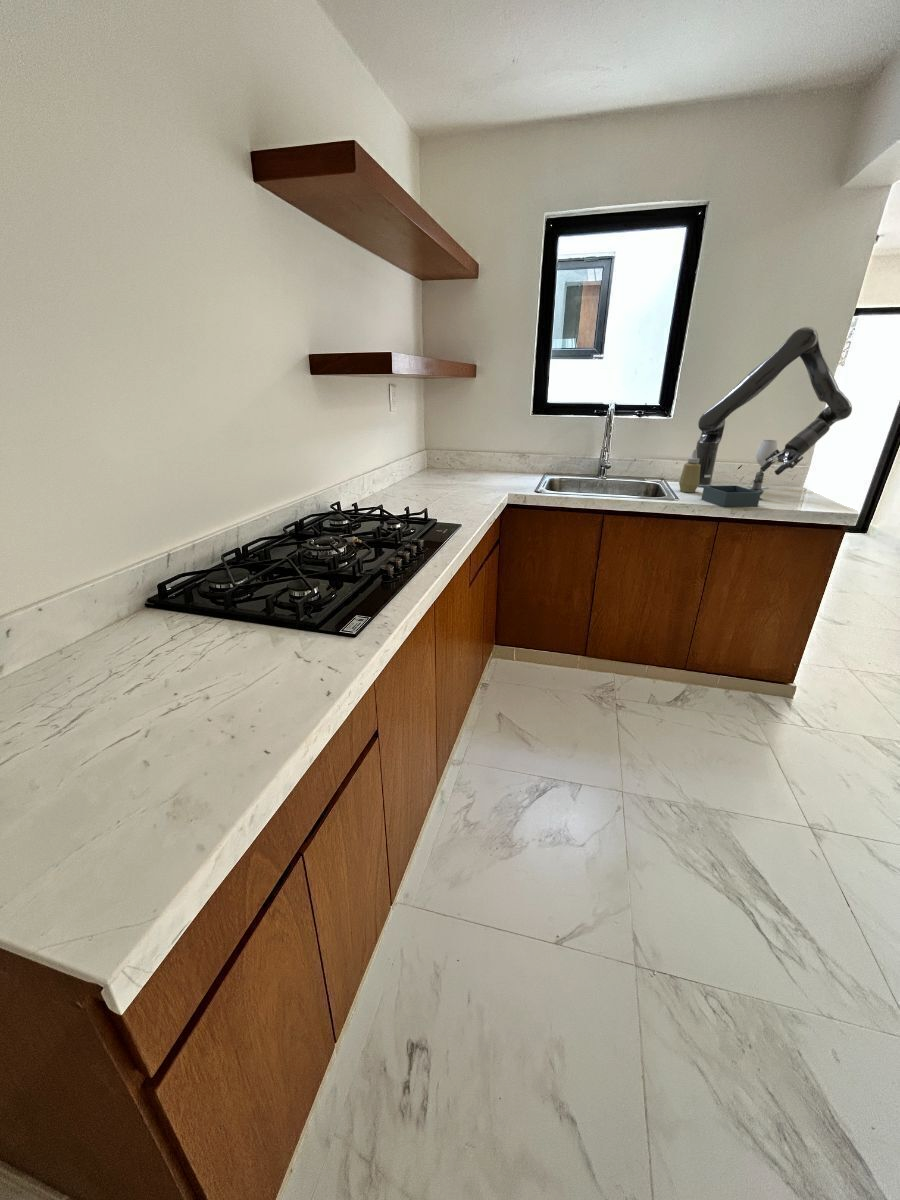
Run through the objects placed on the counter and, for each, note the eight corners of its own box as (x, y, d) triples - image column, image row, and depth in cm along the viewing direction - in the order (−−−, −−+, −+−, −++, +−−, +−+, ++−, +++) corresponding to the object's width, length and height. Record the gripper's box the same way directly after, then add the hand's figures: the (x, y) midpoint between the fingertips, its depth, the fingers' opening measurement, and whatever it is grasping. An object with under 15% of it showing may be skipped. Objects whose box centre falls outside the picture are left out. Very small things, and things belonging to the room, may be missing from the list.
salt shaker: (758, 497, 211) (765, 468, 207) (764, 500, 206) (772, 470, 201) (743, 497, 212) (750, 468, 207) (749, 499, 207) (756, 470, 202)
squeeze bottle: (677, 492, 221) (685, 450, 214) (677, 489, 228) (684, 448, 221) (697, 493, 218) (706, 451, 211) (696, 490, 225) (705, 449, 218)
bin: (701, 499, 207) (704, 485, 205) (733, 498, 209) (736, 485, 207) (723, 507, 193) (726, 492, 191) (757, 506, 195) (761, 492, 193)
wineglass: (767, 486, 235) (779, 440, 227) (767, 489, 229) (779, 441, 221) (749, 485, 239) (760, 439, 231) (748, 487, 233) (759, 440, 225)
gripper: (784, 434, 207) (752, 463, 210) (811, 437, 194) (776, 467, 197) (793, 447, 210) (761, 475, 213) (820, 451, 197) (785, 481, 200)
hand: (768, 471), depth 205 cm, fingers open, 8 cm apart
